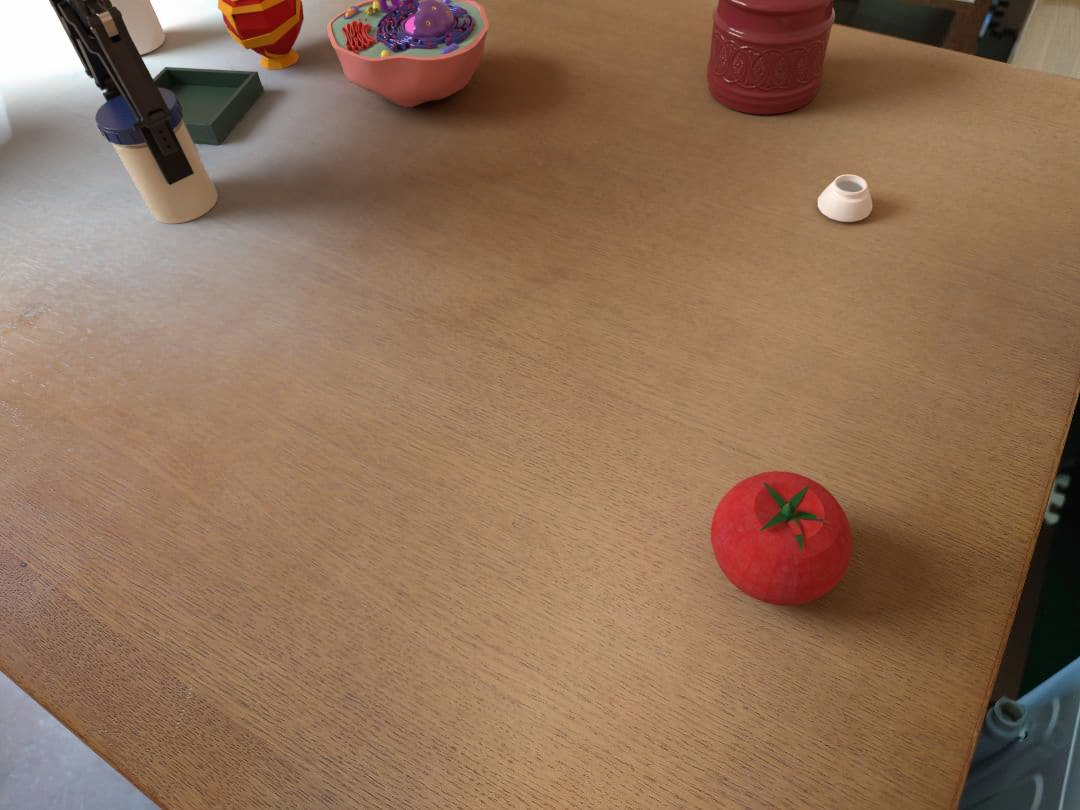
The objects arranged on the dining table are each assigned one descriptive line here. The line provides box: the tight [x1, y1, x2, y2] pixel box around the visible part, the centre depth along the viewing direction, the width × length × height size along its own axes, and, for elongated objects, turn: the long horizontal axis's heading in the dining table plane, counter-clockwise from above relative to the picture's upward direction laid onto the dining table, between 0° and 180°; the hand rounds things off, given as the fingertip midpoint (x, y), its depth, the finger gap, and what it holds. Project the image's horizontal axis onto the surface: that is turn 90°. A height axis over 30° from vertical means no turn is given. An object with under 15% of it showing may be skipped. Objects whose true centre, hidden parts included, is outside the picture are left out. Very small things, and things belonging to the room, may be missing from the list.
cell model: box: [326, 0, 490, 108], centre depth 92 cm, size 17×20×11 cm
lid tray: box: [153, 66, 265, 146], centre depth 96 cm, size 13×12×3 cm
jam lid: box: [94, 87, 183, 145], centre depth 77 cm, size 8×8×2 cm
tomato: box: [709, 470, 853, 607], centre depth 50 cm, size 9×9×8 cm
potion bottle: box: [217, 0, 305, 71], centre depth 98 cm, size 10×10×15 cm
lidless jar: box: [817, 173, 874, 223], centre depth 75 cm, size 5×3×5 cm
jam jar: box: [111, 118, 219, 225], centre depth 81 cm, size 7×7×10 cm
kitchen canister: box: [706, 0, 836, 115], centre depth 84 cm, size 13×13×18 cm
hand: (163, 161), depth 81 cm, fingers closed on jam lid, 8 cm apart
